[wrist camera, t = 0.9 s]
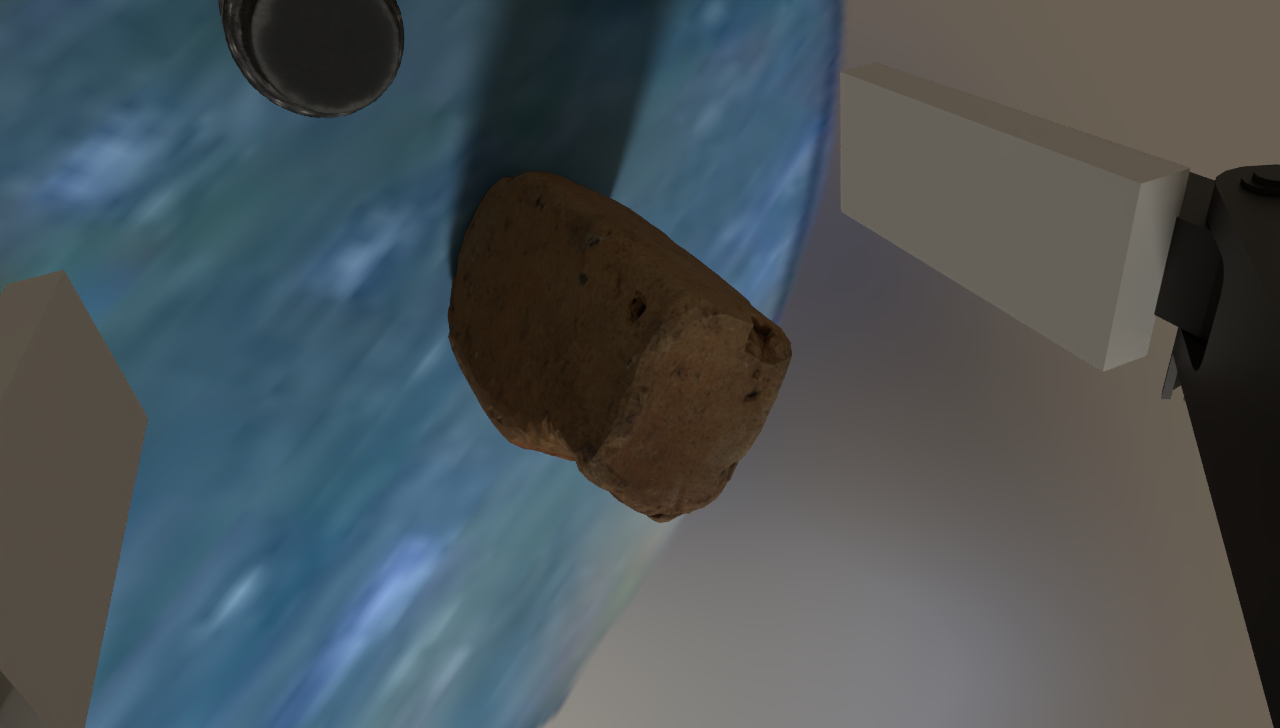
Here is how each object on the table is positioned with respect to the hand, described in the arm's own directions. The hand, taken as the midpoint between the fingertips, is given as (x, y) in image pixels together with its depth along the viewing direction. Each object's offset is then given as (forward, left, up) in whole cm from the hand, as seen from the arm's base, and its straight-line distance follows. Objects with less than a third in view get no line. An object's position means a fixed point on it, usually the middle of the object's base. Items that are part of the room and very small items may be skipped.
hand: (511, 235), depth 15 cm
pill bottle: (+1, +1, -29) cm, 29 cm away
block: (-6, -13, -29) cm, 32 cm away
